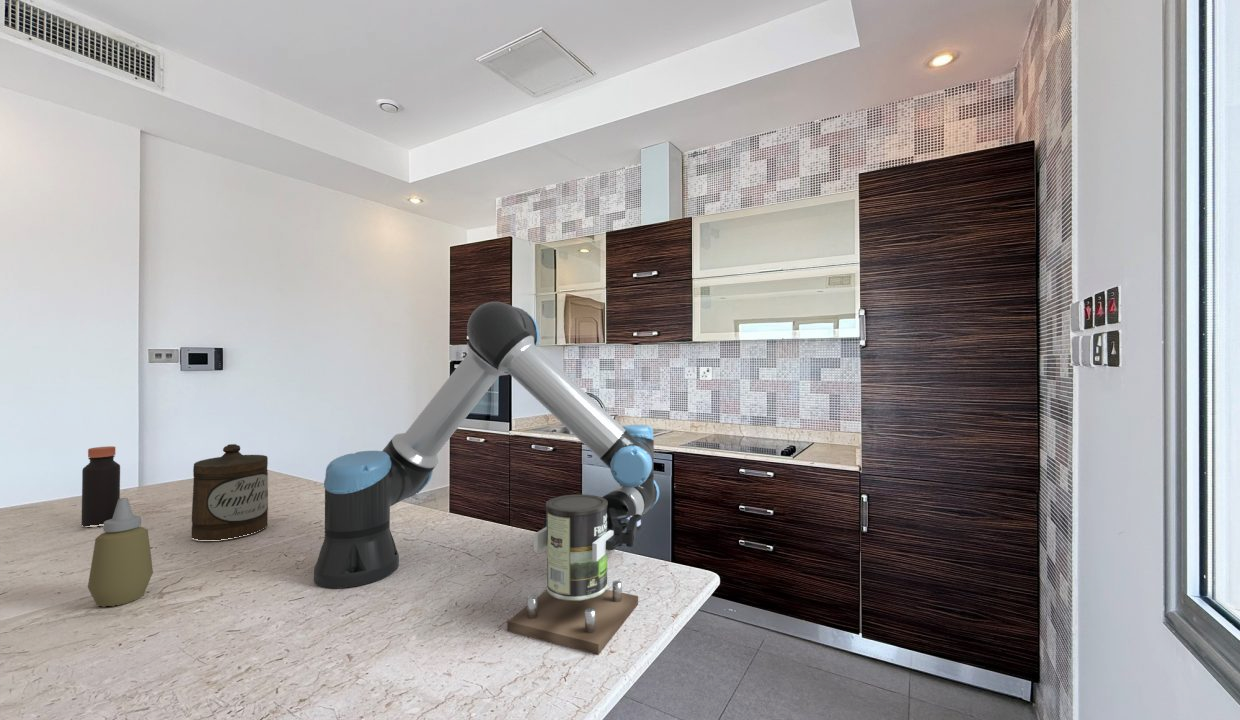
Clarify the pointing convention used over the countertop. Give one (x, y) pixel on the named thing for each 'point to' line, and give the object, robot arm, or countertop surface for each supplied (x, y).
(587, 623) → the pin nest
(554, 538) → the coffee can
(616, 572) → the countertop surface
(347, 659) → the countertop surface
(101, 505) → the vinegar
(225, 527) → the wooden container
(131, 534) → the squeeze bottle
